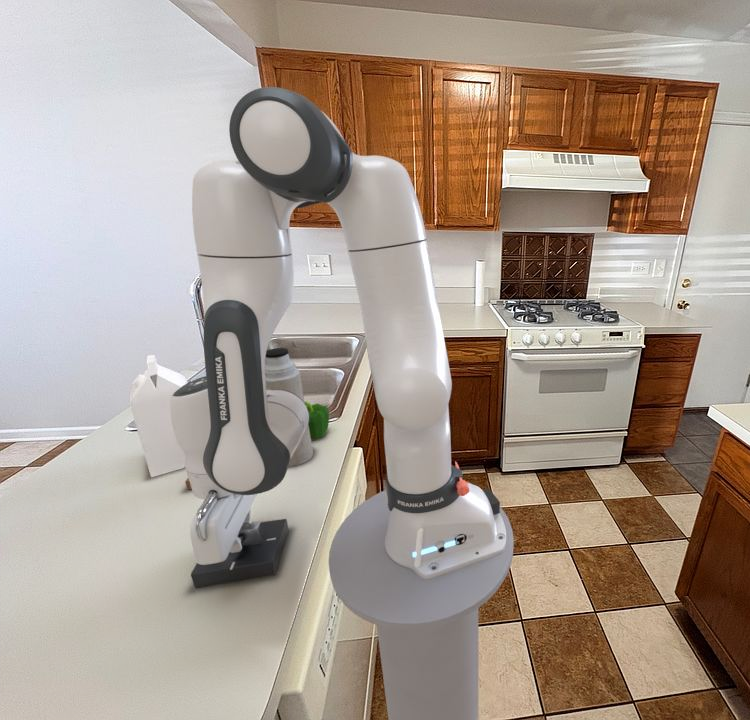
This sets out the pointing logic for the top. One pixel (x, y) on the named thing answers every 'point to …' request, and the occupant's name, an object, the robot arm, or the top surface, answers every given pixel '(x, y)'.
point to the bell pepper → (317, 420)
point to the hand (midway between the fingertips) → (241, 540)
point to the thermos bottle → (288, 378)
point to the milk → (157, 417)
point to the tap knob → (251, 534)
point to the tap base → (246, 559)
